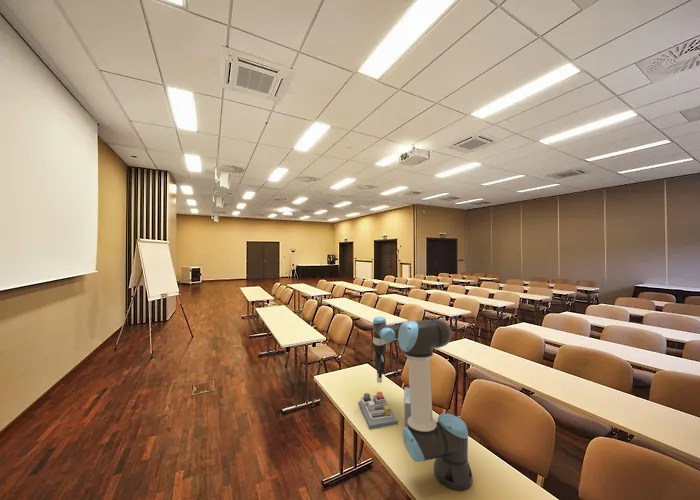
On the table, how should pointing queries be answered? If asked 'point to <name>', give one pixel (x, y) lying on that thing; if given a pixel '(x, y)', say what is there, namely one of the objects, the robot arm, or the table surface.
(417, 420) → the robot arm
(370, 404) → the slider white
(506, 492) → the table surface
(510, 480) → the table surface
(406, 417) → the hard drive box
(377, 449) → the table surface
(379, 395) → the button red
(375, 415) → the panel
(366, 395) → the button black
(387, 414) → the slider brass
